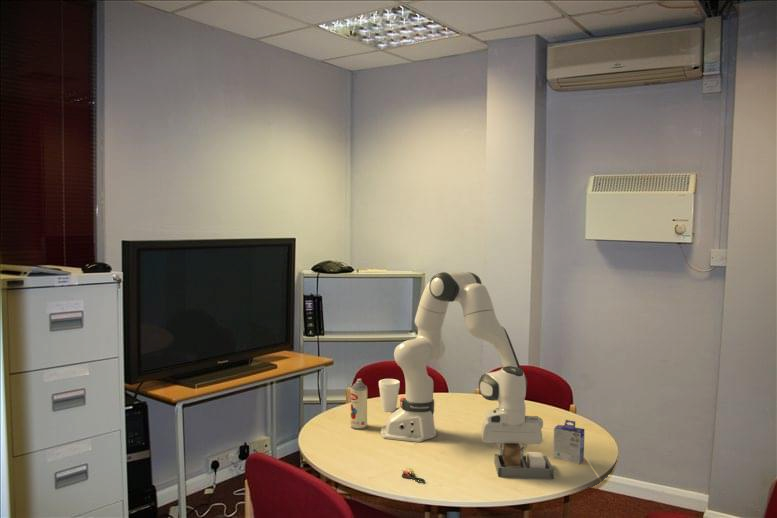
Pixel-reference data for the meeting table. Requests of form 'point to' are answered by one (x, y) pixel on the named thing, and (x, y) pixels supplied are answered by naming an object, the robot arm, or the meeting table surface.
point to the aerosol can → (359, 405)
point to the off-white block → (535, 460)
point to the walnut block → (511, 454)
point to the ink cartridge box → (568, 443)
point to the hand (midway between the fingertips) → (511, 455)
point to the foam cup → (389, 394)
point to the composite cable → (411, 475)
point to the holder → (522, 469)
